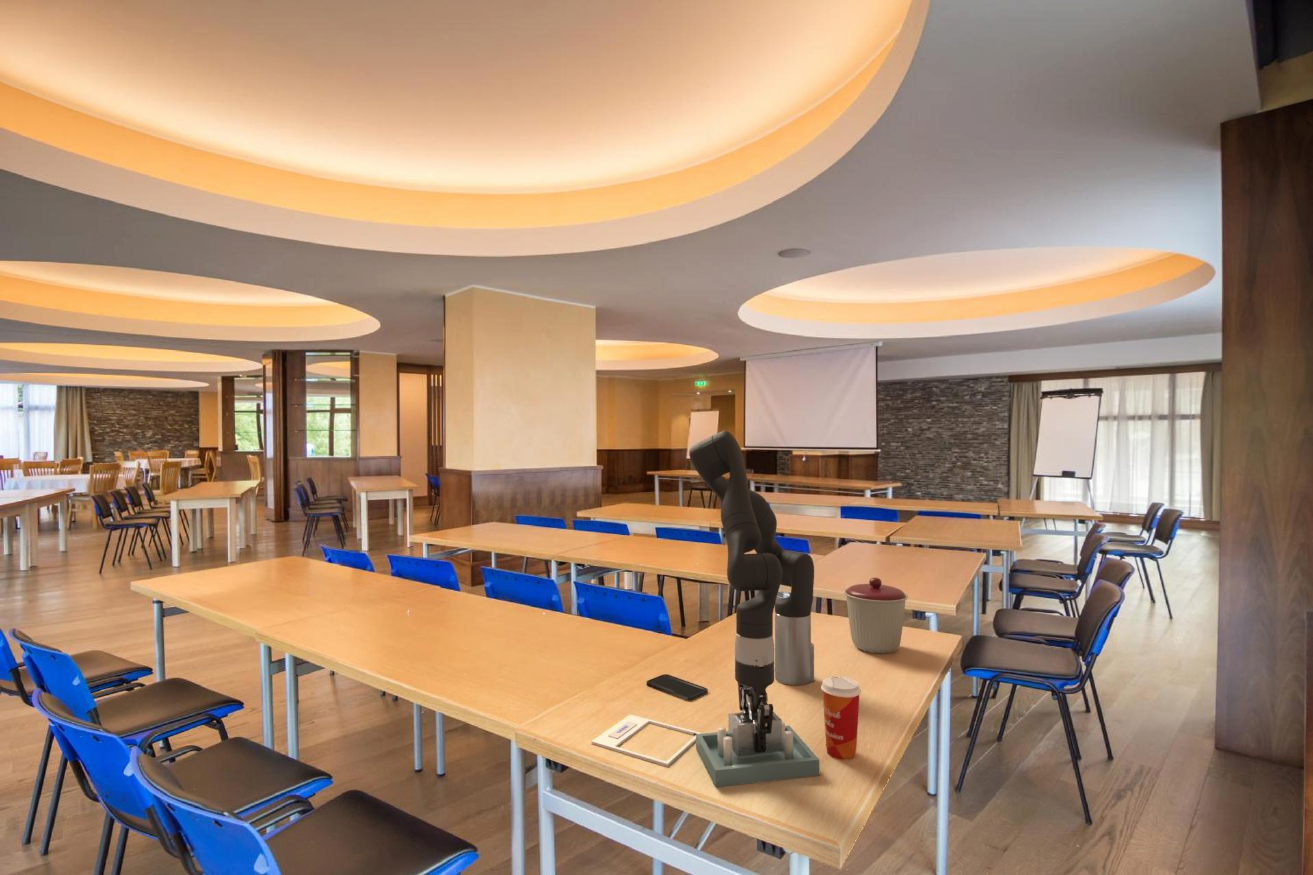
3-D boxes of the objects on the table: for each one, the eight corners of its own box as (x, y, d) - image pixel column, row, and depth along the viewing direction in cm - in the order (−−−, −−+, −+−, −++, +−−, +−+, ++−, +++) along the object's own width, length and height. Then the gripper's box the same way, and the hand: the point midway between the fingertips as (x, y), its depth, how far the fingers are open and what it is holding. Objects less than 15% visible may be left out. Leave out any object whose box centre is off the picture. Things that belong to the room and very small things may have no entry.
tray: (789, 739, 129) (789, 710, 129) (819, 775, 116) (819, 743, 116) (696, 749, 126) (695, 719, 126) (715, 786, 112) (715, 753, 112)
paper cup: (815, 744, 128) (815, 675, 128) (852, 742, 128) (851, 674, 128) (829, 763, 120) (829, 691, 120) (868, 762, 120) (868, 689, 120)
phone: (665, 673, 165) (709, 688, 154) (665, 677, 165) (709, 693, 154) (644, 681, 159) (688, 698, 148) (644, 686, 159) (688, 703, 148)
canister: (855, 635, 199) (855, 569, 199) (914, 645, 188) (914, 576, 189) (835, 650, 184) (835, 579, 185) (898, 663, 174) (898, 587, 174)
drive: (737, 756, 117) (737, 723, 117) (728, 744, 122) (728, 712, 122) (781, 751, 119) (781, 718, 119) (770, 738, 124) (770, 707, 124)
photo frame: (630, 713, 141) (701, 732, 131) (630, 718, 141) (701, 737, 131) (591, 740, 128) (667, 762, 119) (591, 745, 128) (667, 768, 119)
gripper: (725, 645, 127) (725, 729, 127) (748, 671, 113) (748, 765, 113) (760, 643, 129) (760, 725, 128) (787, 668, 114) (787, 761, 114)
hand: (754, 743), depth 121 cm, fingers closed on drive, 5 cm apart
